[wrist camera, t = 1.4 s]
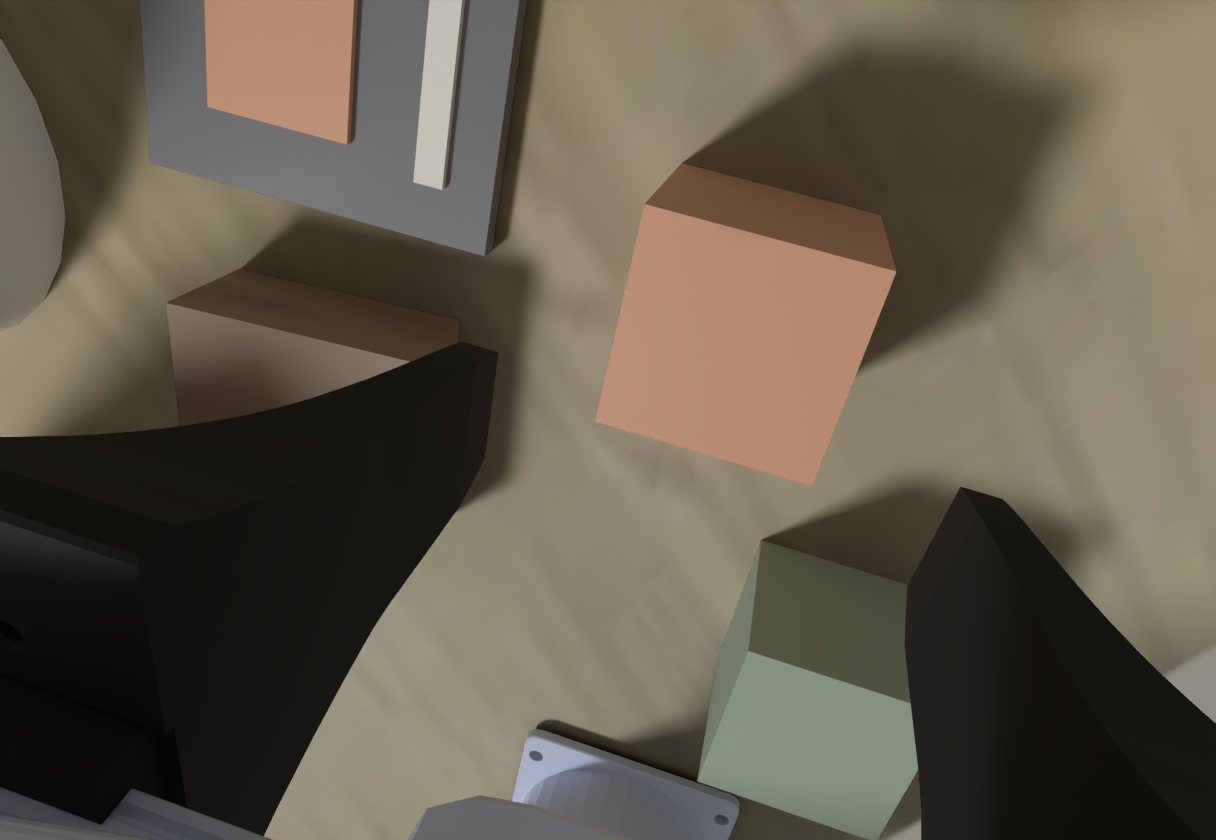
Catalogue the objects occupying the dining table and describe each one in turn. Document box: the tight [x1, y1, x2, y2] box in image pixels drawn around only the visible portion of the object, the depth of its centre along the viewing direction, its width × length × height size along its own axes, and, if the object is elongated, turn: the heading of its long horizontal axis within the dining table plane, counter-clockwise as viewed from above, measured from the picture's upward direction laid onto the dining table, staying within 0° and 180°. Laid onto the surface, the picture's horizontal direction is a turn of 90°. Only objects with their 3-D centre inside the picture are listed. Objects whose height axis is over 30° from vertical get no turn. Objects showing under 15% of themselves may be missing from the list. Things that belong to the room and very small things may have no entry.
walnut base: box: [166, 269, 459, 426], centre depth 25 cm, size 7×7×4 cm
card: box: [140, 0, 527, 256], centre depth 21 cm, size 8×10×1 cm
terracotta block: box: [595, 163, 897, 486], centre depth 19 cm, size 5×5×5 cm
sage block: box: [697, 540, 918, 840], centre depth 24 cm, size 5×5×5 cm
